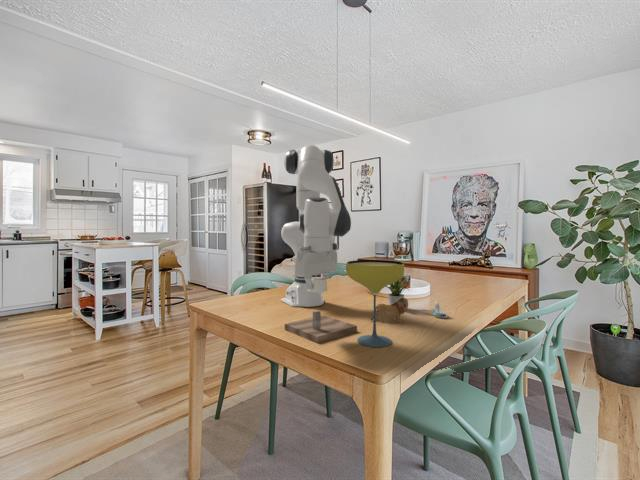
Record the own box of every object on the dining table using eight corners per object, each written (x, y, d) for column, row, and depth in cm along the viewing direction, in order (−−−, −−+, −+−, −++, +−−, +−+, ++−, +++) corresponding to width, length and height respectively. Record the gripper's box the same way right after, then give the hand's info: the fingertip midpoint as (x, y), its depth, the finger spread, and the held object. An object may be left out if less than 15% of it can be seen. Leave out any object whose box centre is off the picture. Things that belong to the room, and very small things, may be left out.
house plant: (413, 314, 136) (413, 275, 135) (379, 312, 140) (379, 274, 139) (413, 306, 149) (413, 271, 149) (382, 304, 153) (382, 270, 153)
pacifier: (444, 314, 137) (430, 313, 137) (445, 299, 137) (430, 299, 137) (450, 319, 130) (435, 318, 130) (451, 303, 129) (435, 303, 130)
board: (284, 329, 116) (284, 307, 116) (323, 320, 128) (323, 299, 127) (317, 343, 102) (317, 317, 102) (357, 331, 114) (357, 308, 113)
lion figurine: (405, 319, 130) (406, 296, 129) (410, 322, 124) (410, 299, 124) (369, 319, 129) (369, 296, 128) (371, 323, 123) (371, 299, 123)
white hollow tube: (303, 291, 109) (303, 278, 108) (314, 288, 114) (314, 275, 114) (319, 293, 105) (319, 279, 105) (330, 290, 110) (330, 277, 110)
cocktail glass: (414, 341, 104) (415, 262, 103) (382, 357, 91) (383, 267, 90) (368, 329, 117) (368, 258, 116) (334, 341, 104) (334, 262, 103)
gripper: (306, 247, 99) (306, 293, 99) (340, 244, 116) (340, 283, 116) (289, 247, 102) (290, 291, 103) (325, 244, 119) (325, 282, 120)
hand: (317, 287), depth 109 cm, fingers closed on white hollow tube, 6 cm apart
